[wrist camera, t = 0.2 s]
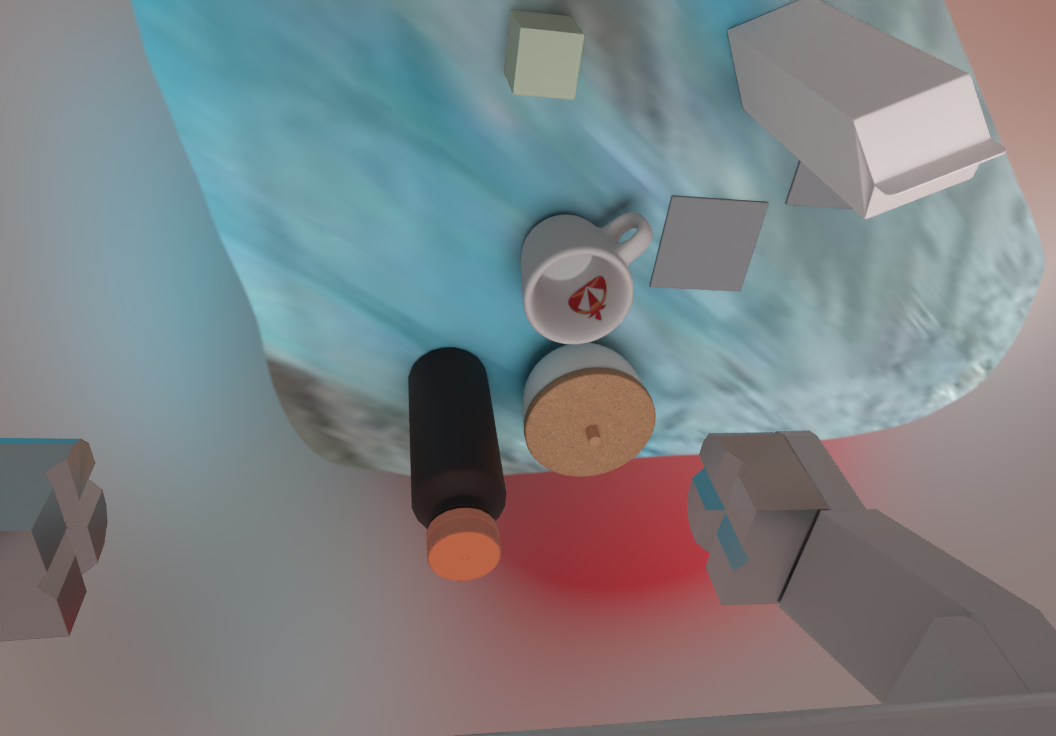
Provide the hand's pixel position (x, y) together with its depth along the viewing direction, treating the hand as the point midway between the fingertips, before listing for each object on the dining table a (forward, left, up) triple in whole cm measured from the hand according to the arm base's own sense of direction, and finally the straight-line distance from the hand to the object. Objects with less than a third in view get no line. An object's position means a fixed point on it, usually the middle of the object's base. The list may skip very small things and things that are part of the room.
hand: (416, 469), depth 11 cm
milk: (+4, +26, -48) cm, 55 cm away
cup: (+19, +14, -48) cm, 53 cm away
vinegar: (+33, +5, -48) cm, 58 cm away
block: (+5, +9, -48) cm, 49 cm away
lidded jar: (+32, +16, -48) cm, 60 cm away
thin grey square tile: (+19, +25, -48) cm, 57 cm away
